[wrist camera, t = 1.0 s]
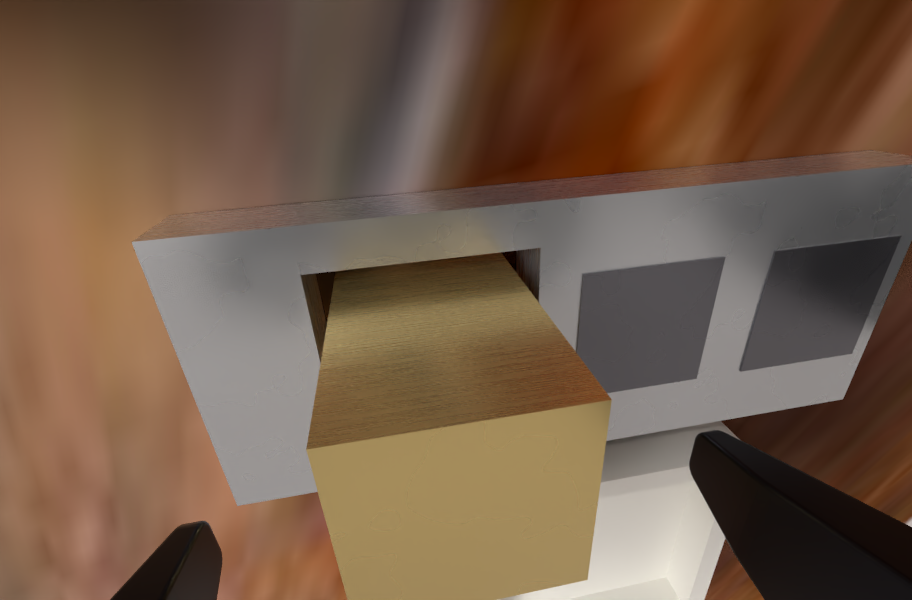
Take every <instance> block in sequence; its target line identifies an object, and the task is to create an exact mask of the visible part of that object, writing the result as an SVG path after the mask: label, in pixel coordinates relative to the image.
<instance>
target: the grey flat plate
mask: <svg viewBox="0 0 912 600" xmlns="http://www.w3.org/2000/svg"><path fill="white" fill-rule="evenodd" d="M911 241H912V156H908V155H902V154H895V153H888V152H881V151H874V150H866V151H855V152H845V153H834V154H823V155H812V156H802V157H791V158H780V159H769V160H759V161H748V162H737V163H727V164H716V165H705V166H694V167H684V168H673V169H662V170H651V171H641V172H630V173H619V174H609V175H598V176H587V177H576V178H566V179H555V180H544V181H533V182H523V183H512V184H501V185H491V186H480V187H469V188H458V189H448V190H437V191H426V192H415V193H405V194H394V195H383V196H373V197H362V198H351V199H340V200H330V201H319V202H308V203H297V204H287V205H276V206H265V207H255V208H244V209H233V210H222V211H212V212H201V213H190V214H179V215H169V216H168V217H166V218H165V219H164V220H162V221H161V222H159V223H158V224H156V225H155V226H154V227H152V228H151V229H149V230H148V231H147V232H145V233H144V234H142V235H141V236H139V237H138V238H137V239H135V240H134V241H132V244H133V247H134V249H135V252H136V254H137V257H138V259H139V262H140V264H141V267H142V269H143V272H144V274H145V277H146V279H147V282H148V284H149V287H150V289H151V292H152V294H153V297H154V299H155V302H156V304H157V307H158V309H159V312H160V314H161V317H162V319H163V322H164V324H165V327H166V329H167V331H168V334H169V336H170V339H171V341H172V344H173V346H174V349H175V351H176V354H177V356H178V359H179V361H180V364H181V366H182V369H183V371H184V374H185V376H186V379H187V381H188V384H189V386H190V389H191V391H192V394H193V396H194V399H195V401H196V404H197V406H198V409H199V411H200V414H201V416H202V419H203V421H204V424H205V426H206V429H207V431H208V434H209V436H210V439H211V441H212V444H213V446H214V449H215V451H216V454H217V456H218V459H219V461H220V464H221V466H222V469H223V471H224V474H225V476H226V479H227V481H228V484H229V486H230V489H231V491H232V493H233V496H234V498H235V501H236V503H237V506H239V505H245V504H251V503H256V502H262V501H268V500H273V499H279V498H285V497H290V496H296V495H302V494H307V493H313V492H318V491H317V487H316V483H315V480H314V476H313V472H312V469H311V465H310V462H309V458H308V454H307V451H306V448H307V442H308V436H309V430H310V424H311V418H312V412H313V406H314V400H315V394H316V388H317V382H318V376H319V370H320V364H321V358H322V352H323V346H324V340H325V334H326V327H327V323H326V318H325V313H324V308H323V304H322V299H321V294H320V290H319V285H318V280H317V275H316V273H323V272H332V271H341V270H350V269H358V268H367V267H376V266H385V265H394V264H402V263H411V262H420V261H429V260H438V259H446V258H455V257H464V256H473V255H482V254H490V253H499V252H508V251H516V273H517V274H518V276H519V277H520V278H521V280H522V281H523V282H524V284H525V285H526V286H527V288H528V289H529V290H530V292H531V293H532V294H533V296H534V297H535V298H536V300H537V301H538V302H539V304H540V305H541V306H542V308H543V309H544V310H545V312H546V313H547V314H548V316H549V317H550V318H551V320H552V321H553V322H554V324H555V325H556V326H557V328H558V329H559V330H560V332H561V333H562V334H563V336H564V337H565V338H566V340H567V341H568V342H569V344H570V345H571V346H572V347H573V349H574V350H575V351H576V353H577V354H578V355H579V357H580V358H581V359H582V361H583V362H584V363H585V365H586V366H587V367H588V369H589V370H590V371H591V373H592V374H593V375H594V377H595V378H596V379H597V381H598V382H599V383H600V385H601V386H602V387H603V389H604V390H605V391H606V393H607V394H608V395H609V397H610V398H611V399H612V402H611V410H610V417H609V424H608V432H607V439H606V441H609V440H614V439H620V438H626V437H631V436H637V435H643V434H648V433H654V432H660V431H665V430H671V429H677V428H682V427H688V426H694V425H700V424H705V423H711V422H717V421H722V420H728V419H734V418H739V417H745V416H751V415H756V414H762V413H768V412H773V411H779V410H785V409H790V408H796V407H802V406H808V405H813V404H819V403H825V402H830V401H836V400H842V399H843V398H844V396H845V394H846V391H847V389H848V387H849V384H850V382H851V380H852V377H853V375H854V373H855V370H856V368H857V366H858V363H859V361H860V359H861V356H862V354H863V352H864V350H865V347H866V345H867V343H868V340H869V338H870V336H871V333H872V331H873V329H874V326H875V324H876V322H877V319H878V317H879V315H880V312H881V310H882V308H883V306H884V303H885V301H886V299H887V296H888V294H889V292H890V289H891V287H892V285H893V282H894V280H895V278H896V275H897V273H898V271H899V268H900V266H901V264H902V261H903V259H904V257H905V255H906V252H907V250H908V248H909V245H910V243H911Z"/></svg>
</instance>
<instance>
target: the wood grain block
mask: <svg viewBox="0 0 912 600" xmlns="http://www.w3.org/2000/svg"><path fill="white" fill-rule="evenodd" d="M611 402H612V399H611V398H610V397H609V395H608V394H607V393H606V391H605V390H604V389H603V387H602V386H601V385H600V383H599V382H598V381H597V379H596V378H595V377H594V375H593V374H592V373H591V371H590V370H589V369H588V367H587V366H586V365H585V363H584V362H583V361H582V359H581V358H580V357H579V355H578V354H577V353H576V351H575V350H574V349H573V347H572V346H571V345H570V344H569V342H568V341H567V340H566V338H565V337H564V336H563V334H562V333H561V332H560V330H559V329H558V328H557V326H556V325H555V324H554V322H553V321H552V320H551V318H550V317H549V316H548V314H547V313H546V312H545V310H544V309H543V308H542V306H541V305H540V304H539V302H538V301H537V300H536V298H535V297H534V296H533V294H532V293H531V292H530V290H529V289H528V288H527V286H526V285H525V284H524V282H523V281H522V280H521V278H520V277H519V276H518V274H517V273H516V272H515V270H514V269H513V268H512V266H511V265H510V264H509V262H508V261H507V260H506V258H505V257H504V256H503V254H502V253H501V252H499V253H490V254H482V255H473V256H464V257H455V258H446V259H438V260H429V261H420V262H411V263H402V264H394V265H385V266H376V267H367V268H358V269H350V270H341V271H336V273H335V279H334V285H333V291H332V297H331V303H330V309H329V315H328V321H327V327H326V334H325V340H324V346H323V352H322V358H321V364H320V370H319V376H318V382H317V388H316V394H315V400H314V406H313V412H312V418H311V424H310V430H309V436H308V442H307V448H306V451H307V454H308V458H309V462H310V465H311V469H312V472H313V476H314V480H315V483H316V487H317V491H318V494H319V498H320V501H321V505H322V509H323V512H324V516H325V520H326V523H327V527H328V530H329V534H330V538H331V541H332V545H333V549H334V552H335V556H336V559H337V563H338V567H339V570H340V574H341V578H342V581H343V585H344V588H345V592H346V596H347V599H348V600H497V599H502V598H507V597H511V596H516V595H521V594H525V593H530V592H534V591H539V590H544V589H548V588H553V587H557V586H562V585H567V584H571V583H576V582H580V581H585V580H588V573H589V565H590V558H591V551H592V543H593V536H594V528H595V521H596V513H597V506H598V499H599V491H600V484H601V476H602V469H603V462H604V454H605V447H606V439H607V432H608V424H609V417H610V410H611Z"/></svg>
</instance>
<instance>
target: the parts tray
mask: <svg viewBox="0 0 912 600" xmlns="http://www.w3.org/2000/svg"><path fill="white" fill-rule="evenodd" d="M712 430H720V431H723V432H725V433H727V434H729V435H731V436H733V437H735V438H737V439H739V438H738V437H737V436H736V435H735V434H733V433H732V432H731V431H730V430H729V429H728V428H727V427H726V426H725V425H724V424H723V423H722V422H721V421H717V422H711V423H705V424H700V425H694V426H688V427H682V428H677V429H671V430H665V431H660V432H654V433H648V434H643V435H637V436H631V437H626V438H620V439H614V440H609V441H606V447H605V454H604V462H603V469H602V476H601V484H600V491H599V499H598V506H597V513H596V521H595V528H594V536H593V543H592V551H591V558H590V565H589V573H588V580H585V581H580V582H576V583H571V584H567V585H562V586H557V587H553V588H548V589H544V590H539V591H534V592H530V593H525V594H521V595H516V596H511V597H507V598H502V599H497V600H704V599H705V596H706V593H707V590H708V587H709V585H710V582H711V579H712V576H713V573H714V570H715V567H716V564H717V561H718V558H719V555H720V552H721V549H722V546H723V544H724V541H725V536H724V534H723V533H722V531H721V529H720V527H719V525H718V523H717V522H716V520H715V518H714V516H713V514H712V512H711V510H710V509H709V507H708V505H707V503H706V501H705V499H704V498H703V496H702V494H701V492H700V490H699V488H698V486H697V485H696V483H695V481H694V479H693V477H692V475H691V472H690V468H689V461H690V457H691V453H692V449H693V445H694V441H695V437H696V436H697V435H698V434H699V433H701V432H706V431H712ZM739 440H740V439H739Z"/></svg>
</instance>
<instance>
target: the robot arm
mask: <svg viewBox="0 0 912 600" xmlns="http://www.w3.org/2000/svg"><path fill="white" fill-rule="evenodd" d="M689 468H690V472H691V475H692V477H693V479H694V481H695V483H696V485H697V486H698V488H699V490H700V492H701V494H702V496H703V498H704V499H705V501H706V503H707V505H708V507H709V509H710V510H711V512H712V514H713V516H714V518H715V520H716V522H717V523H718V525H719V527H720V529H721V531H722V533H723V534H724V536H725V538H726V540H727V542H728V543H729V545H730V547H731V549H732V550H733V552H734V554H735V555H736V557H737V558H738V560H739V562H740V563H741V565H742V566H743V568H744V569H745V571H746V572H747V574H748V575H749V577H750V578H751V580H752V581H753V583H754V584H755V586H756V587H757V589H758V590H759V592H760V593H761V595H762V596H763V598H764V599H765V600H912V527H910V526H908V525H906V524H904V523H902V522H900V521H898V520H896V519H894V518H892V517H890V516H888V515H886V514H884V513H883V512H881V511H879V510H877V509H875V508H873V507H871V506H869V505H867V504H865V503H863V502H861V501H859V500H857V499H855V498H853V497H851V496H849V495H847V494H845V493H843V492H841V491H839V490H837V489H835V488H833V487H831V486H829V485H827V484H825V483H824V482H822V481H820V480H818V479H816V478H814V477H812V476H810V475H808V474H806V473H804V472H802V471H800V470H798V469H796V468H794V467H792V466H790V465H788V464H786V463H784V462H782V461H780V460H778V459H776V458H774V457H772V456H770V455H768V454H766V453H764V452H763V451H761V450H759V449H757V448H755V447H753V446H751V445H749V444H747V443H745V442H743V441H741V440H739V439H737V438H735V437H733V436H731V435H729V434H727V433H725V432H723V431H720V430H712V431H706V432H701V433H699V434H698V435H697V436H696V437H695V441H694V445H693V449H692V453H691V457H690V461H689ZM221 568H222V552H221V549H220V547H219V545H218V542H217V540H216V538H215V536H214V534H213V531H212V529H211V527H210V525H209V524H208V523H207V522H206V521H198V522H193V523H187V524H183V525H180V526H179V527H177V528H176V529H175V530H174V531H173V532H172V533H171V534H170V535H169V536H168V537H167V538H166V540H165V541H164V542H163V543H162V544H161V545H160V546H159V547H158V548H157V549H156V550H155V551H154V553H153V554H152V555H151V556H150V557H149V558H148V559H147V560H146V561H145V562H144V563H143V564H142V566H141V567H140V568H139V569H138V570H137V571H136V572H135V573H134V574H133V575H132V576H131V578H130V579H129V580H128V581H127V582H126V583H125V584H124V585H123V586H122V587H121V588H120V589H119V591H118V592H117V593H116V594H115V595H114V596H113V597H112V598H111V599H110V600H217V594H218V588H219V581H220V575H221Z"/></svg>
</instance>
